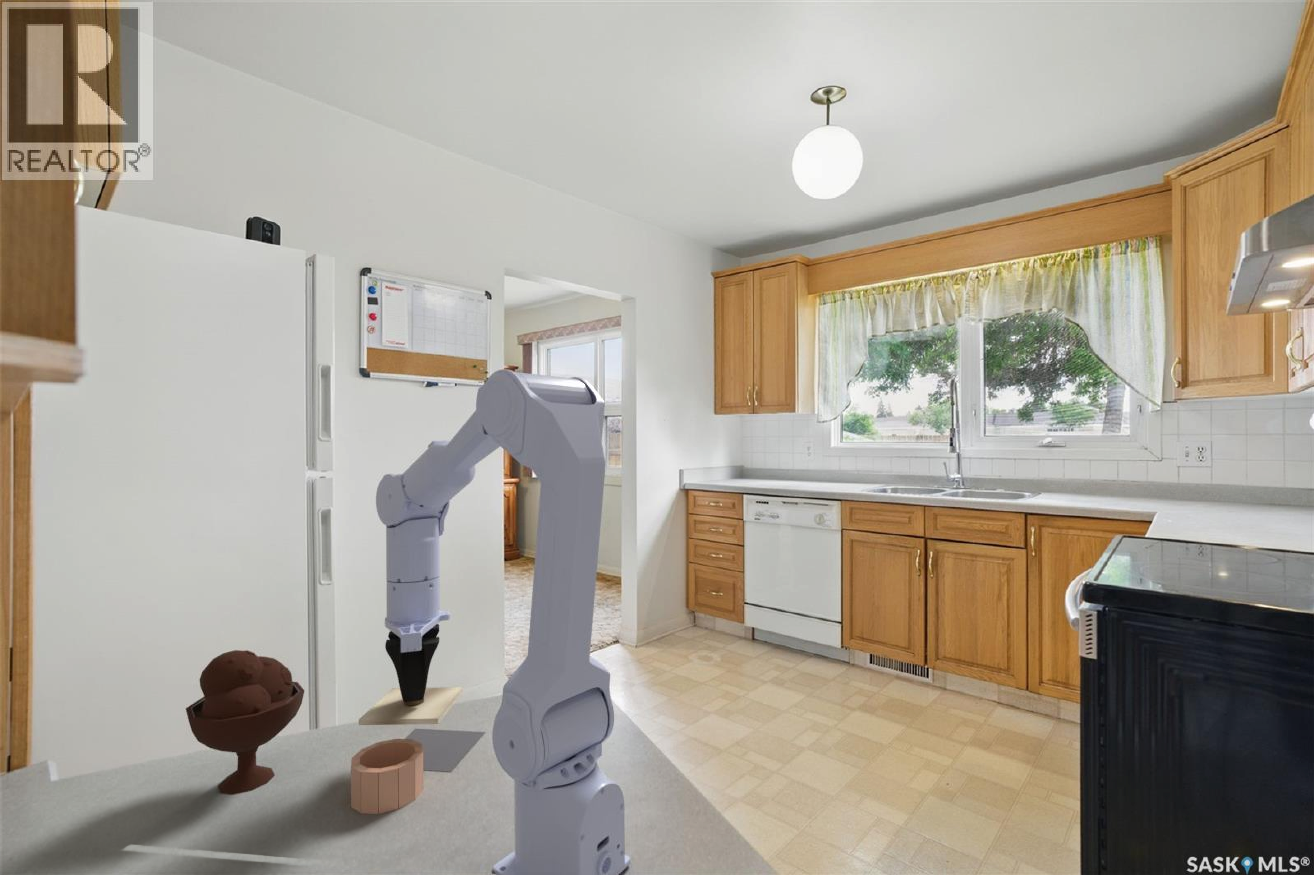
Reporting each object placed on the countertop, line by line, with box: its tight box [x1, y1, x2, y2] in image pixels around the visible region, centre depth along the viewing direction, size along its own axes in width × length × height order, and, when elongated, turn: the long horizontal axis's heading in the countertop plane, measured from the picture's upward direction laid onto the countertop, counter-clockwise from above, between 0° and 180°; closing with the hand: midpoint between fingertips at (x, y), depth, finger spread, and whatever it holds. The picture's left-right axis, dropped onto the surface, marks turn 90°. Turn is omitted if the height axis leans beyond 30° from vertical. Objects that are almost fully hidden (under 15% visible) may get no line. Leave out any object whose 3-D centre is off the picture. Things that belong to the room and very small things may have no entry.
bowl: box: [350, 738, 424, 815], centre depth 65 cm, size 7×7×4 cm
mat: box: [404, 728, 486, 773], centre depth 74 cm, size 10×10×1 cm
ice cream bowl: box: [185, 649, 305, 795], centre depth 68 cm, size 11×11×15 cm
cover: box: [358, 686, 464, 726], centre depth 70 cm, size 9×9×4 cm
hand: (413, 695), depth 70 cm, fingers closed on cover, 2 cm apart
